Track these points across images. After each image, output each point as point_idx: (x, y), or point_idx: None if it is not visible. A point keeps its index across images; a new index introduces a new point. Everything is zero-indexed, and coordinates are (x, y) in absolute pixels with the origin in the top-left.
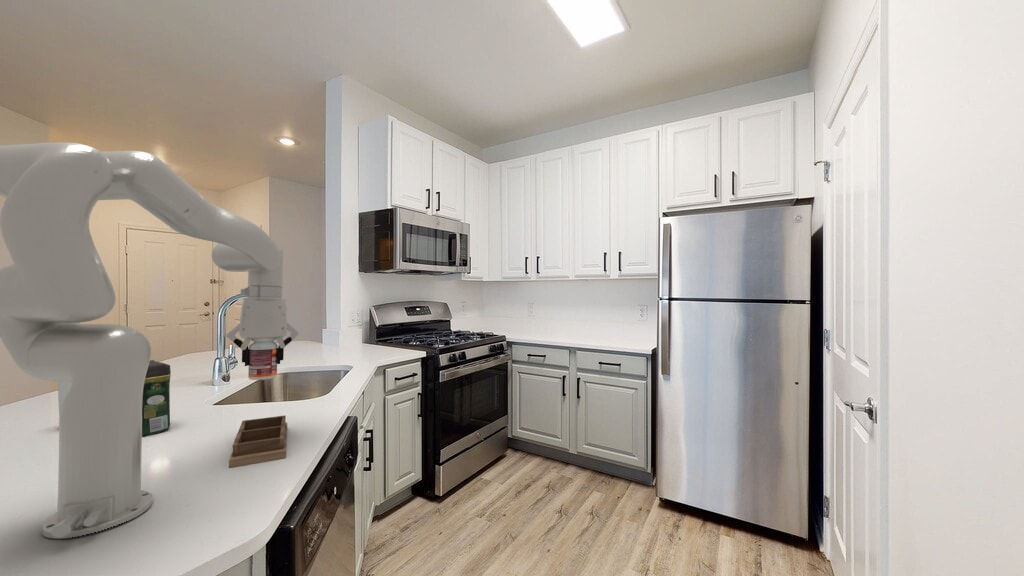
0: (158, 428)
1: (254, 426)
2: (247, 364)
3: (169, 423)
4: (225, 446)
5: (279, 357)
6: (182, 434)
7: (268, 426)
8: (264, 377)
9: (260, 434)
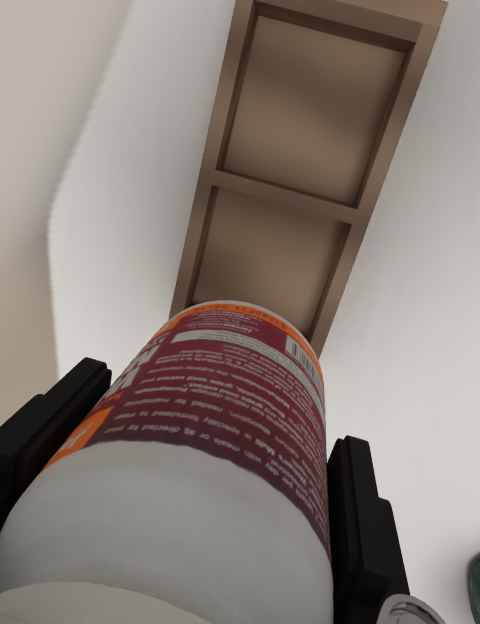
0: None
1: None
2: (344, 443)
3: (477, 579)
4: (384, 273)
5: (61, 385)
6: (452, 492)
7: None
8: (237, 303)
9: (291, 189)
